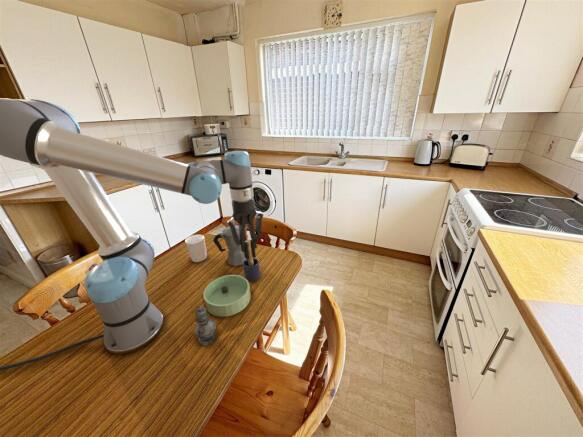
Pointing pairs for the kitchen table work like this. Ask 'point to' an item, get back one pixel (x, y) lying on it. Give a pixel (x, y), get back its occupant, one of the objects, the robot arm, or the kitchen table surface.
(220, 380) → the kitchen table surface
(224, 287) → the bead
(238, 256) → the coffeepot
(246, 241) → the stirring stick
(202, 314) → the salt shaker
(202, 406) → the kitchen table surface
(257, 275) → the utensil pot
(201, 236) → the white cup
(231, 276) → the bowl
